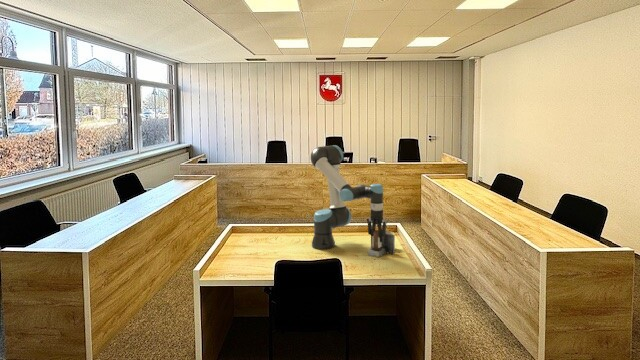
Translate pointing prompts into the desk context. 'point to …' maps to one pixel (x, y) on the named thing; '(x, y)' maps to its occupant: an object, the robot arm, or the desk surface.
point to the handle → (376, 240)
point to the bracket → (384, 246)
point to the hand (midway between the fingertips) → (376, 246)
